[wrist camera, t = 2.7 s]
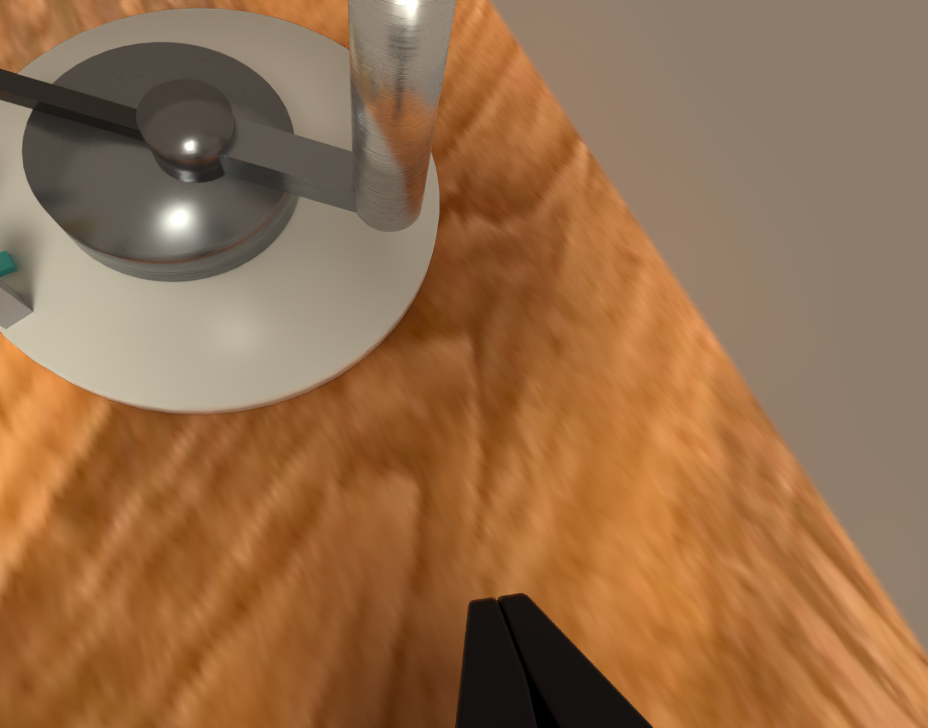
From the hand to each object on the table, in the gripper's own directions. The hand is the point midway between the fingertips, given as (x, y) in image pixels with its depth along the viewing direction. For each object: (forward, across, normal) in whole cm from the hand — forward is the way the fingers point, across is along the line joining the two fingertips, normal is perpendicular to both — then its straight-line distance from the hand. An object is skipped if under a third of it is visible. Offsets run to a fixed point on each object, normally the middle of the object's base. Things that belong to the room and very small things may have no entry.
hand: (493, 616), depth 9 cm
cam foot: (+20, +7, -3) cm, 21 cm away
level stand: (+21, +7, -2) cm, 22 cm away
